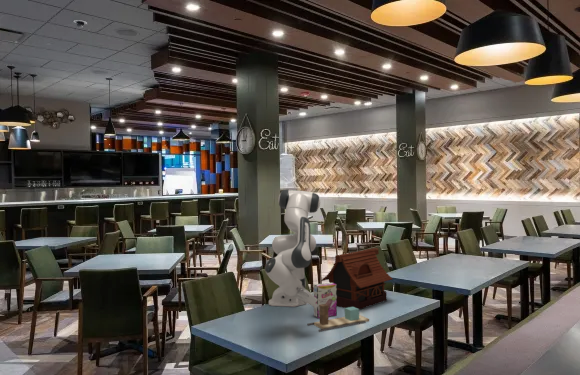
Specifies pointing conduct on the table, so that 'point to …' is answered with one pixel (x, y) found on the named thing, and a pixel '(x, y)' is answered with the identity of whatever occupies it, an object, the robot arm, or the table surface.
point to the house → (358, 279)
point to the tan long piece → (333, 322)
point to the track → (338, 326)
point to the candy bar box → (326, 298)
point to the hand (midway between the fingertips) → (311, 304)
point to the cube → (351, 313)
